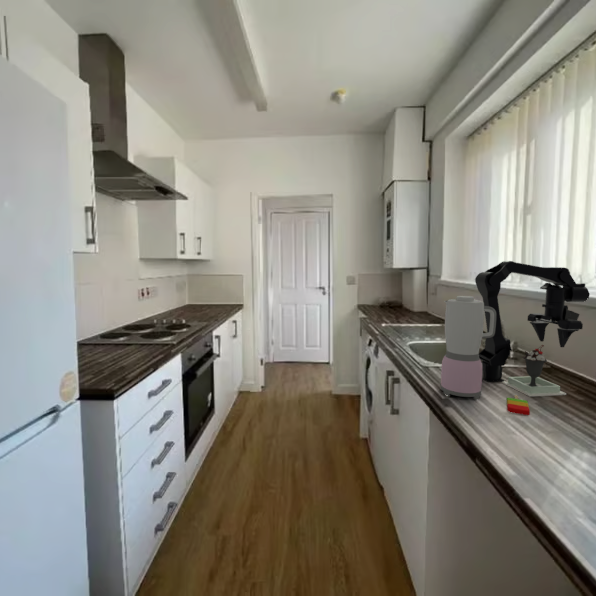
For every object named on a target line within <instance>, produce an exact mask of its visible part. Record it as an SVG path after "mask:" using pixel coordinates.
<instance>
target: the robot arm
mask: <svg viewBox="0 0 596 596" xmlns="http://www.w3.org/2000/svg"><path fill="white" fill-rule="evenodd" d="M510 274H516V275H523V276H528V277H532V278H533V277H534V278H538V279H539V280H541V281H544V282H545V283H544V284H543V285H542V286H540V288H539V289H540V290H545V302H544V303H542V305H541V307H542V308H544V313H529V314H528V315H527V322H529V324H530V325H531V326H532V327H533V329H534V332H535V334H536V335H537V338H538V339H539V342H544V340H545V336H546V328H547V326H548V325H549V324H555V325H557V326H558V327H559V328H556V330H557V334H558V336H557V337H558V343H559V346H560V348H565V346H566V344H567V342H568V341H569V339H570V337H571V335H573V334H574V333H576V332H578V331H580V330H583V325H584V323H583V322H582V321H581V320H579V317H580V313H577V312H575V311H573V310H570V309H569V306H568V305H566V304H565V303H566V302H567V303H584V301H585V302H587V301H588V300H587V298H588V299H589V298H590V295H591V294H590V291H589V289H588V288H587V286H586V283H583V282H578V283H577V282H576V281H575V280H574V278H573V276H572V275H571V272H570V269H569V268H567V267H559V266H558V267H557V266H555V267H554V266H553V267H552V266H538V265H533V264H525V263H521V262H516V261H513V260H503V261H501V262H499V263H498V264H497V265H495V266H493V267H491V268H489V269H487V270H485V271H482V272H481V271H480V272H479V273H478V274H477V275H476V276H475V279H474V280H475V281H474V282H475V285H476V288H477V290H478V292H479V294H480V296H481V297H482V301H483V303H484V306H489V307H492V308H494V309H495V311H496V328H495V334H494V336H493V337H491V338H485V341H484V347H483V349H482V350H481V351H479V358H480V360H481V363H482V370H484V371H485V372H486V378H485V379H482V380H483V381H485V382H504V381H505V379H504V378H503V367H504V366H505V364H506V362H507V360H508V359H509V357H510V356H511V351H513V349H512V347H511V340H510V339H509V338H507V337H504V334H503V329H502V319H501V314H500V313H501V311H500V305H499V297H498V296H499V293H500V291H501V286H502V285H501V283H502V282H503V281H504V280H506V279H507V278H508V277H509V276H510ZM586 300H587V301H586ZM484 319H485V323H486V324H485V325H486V333H488V332H489V328H490V312H486V311H484Z"/></svg>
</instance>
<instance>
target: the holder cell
mask: <svg viewBox="0 0 596 596" xmlns="http://www.w3.org/2000/svg"><path fill="white" fill-rule="evenodd" d="M501 382H502V383H501V384H503V385H506V386H508V387H509V388H511V389H514V390H516V391H518V392H519V393H522V394H524V395H526V396H527V397H551V396H567V393H566V392H565V391H562V390H561V386H560V385H559V384H556V383H553V382H551V381H548V380H546V379H544V378H542V377H540V376H539V377H537V378H535V383H536V385H537V386H534V387H531V386H529V385H526V384H530V383H531V377H530V376H529V375H527V376H524V375H523V376H508V377H507V381H505V380H504V381H501Z"/></svg>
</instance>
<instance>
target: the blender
mask: <svg viewBox="0 0 596 596" xmlns="http://www.w3.org/2000/svg"><path fill="white" fill-rule="evenodd" d="M443 302H444V303H445V314H444V338H445V346H446V351H445V354H444V356H443V357H442V361H441V370H440V371H441V373H440V385H439V386H440V387H439V388H440V390H441V391H442V392H443V395H444V394H446V395H448V396H450V397H451V396H457V397H463V398H473V400H475V401H476V400H479V399H480V395H482V382H483V381H482V380H483V379H485V378H486V372H485V371H484V370H482V363H481V361H482V360H480V358H479V353H480V347H481V343H482V340H484V339H486V338H491V337H493V336H494V334H495V328H496V311H495V309H494V308H492V307H489V306H484V303H483V300H477V299H475V297H474V296H472V295H457V296H456V299H455V298H451V299H448V300H443ZM485 311H486V312H490V328H489V332H488V333H487V332H484V322H485V321H484V320H485Z"/></svg>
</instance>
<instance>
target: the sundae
mask: <svg viewBox="0 0 596 596" xmlns="http://www.w3.org/2000/svg"><path fill="white" fill-rule="evenodd" d="M544 347H545V345H543V344H541V345H540V346H539V347H538V348H535V349H534V350H533V349H532V350H530V351H529V352H528V351H526V350H524V354H525V356H522V359H524V361H525V368H526V369H525V370H526V374H527V376H530V377H531V383H530V384H526V385H529V386H531V387H534V386H537V385H536V383H535V378H537V377H539V378H540V376H541V375H542V372H543V367H544V364H545V363H547V362H548V360H547V359H546V358H545V355H543V353H544V352H543V350H542V348H544ZM539 348H540V349H539Z"/></svg>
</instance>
